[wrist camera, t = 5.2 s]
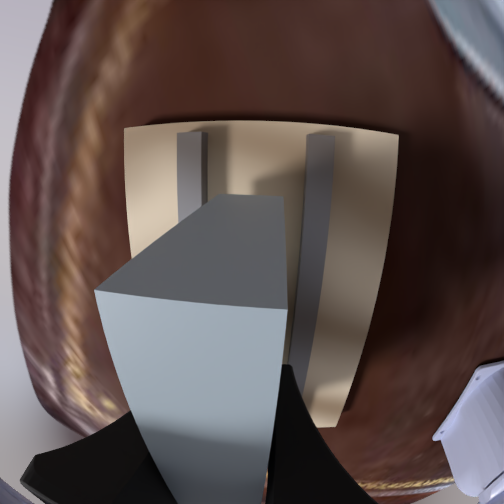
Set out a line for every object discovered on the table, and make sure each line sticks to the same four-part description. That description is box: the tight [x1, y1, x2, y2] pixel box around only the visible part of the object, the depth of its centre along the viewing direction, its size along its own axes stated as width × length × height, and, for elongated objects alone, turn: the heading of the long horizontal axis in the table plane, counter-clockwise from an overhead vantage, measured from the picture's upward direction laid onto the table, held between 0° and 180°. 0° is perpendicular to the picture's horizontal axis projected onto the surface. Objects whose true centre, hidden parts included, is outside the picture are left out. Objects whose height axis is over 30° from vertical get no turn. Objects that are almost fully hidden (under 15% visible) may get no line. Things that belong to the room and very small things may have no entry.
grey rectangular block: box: [94, 194, 288, 504], centre depth 9 cm, size 12×2×8 cm, turn 179°
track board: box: [124, 121, 399, 427], centre depth 14 cm, size 18×12×2 cm, turn 178°
